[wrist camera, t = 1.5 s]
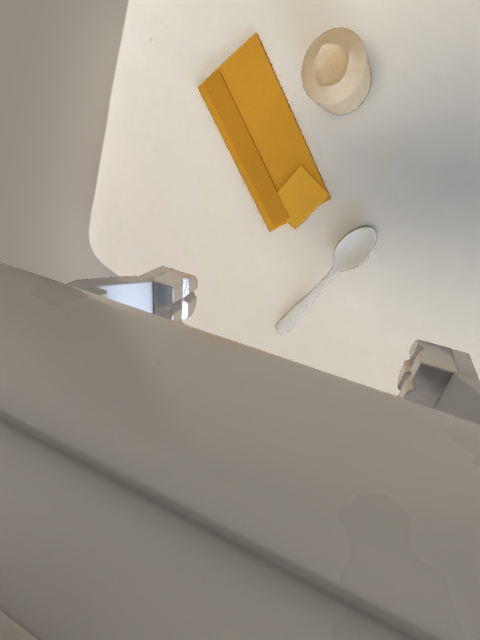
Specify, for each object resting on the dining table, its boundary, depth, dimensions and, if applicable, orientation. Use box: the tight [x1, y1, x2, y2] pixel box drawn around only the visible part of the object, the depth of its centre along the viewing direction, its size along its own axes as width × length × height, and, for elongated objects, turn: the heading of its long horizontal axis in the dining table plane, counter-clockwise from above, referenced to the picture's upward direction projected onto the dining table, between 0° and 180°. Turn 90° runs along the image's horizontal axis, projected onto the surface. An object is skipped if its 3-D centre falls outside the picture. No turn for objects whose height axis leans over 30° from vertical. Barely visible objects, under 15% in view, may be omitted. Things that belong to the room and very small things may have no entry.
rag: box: [198, 33, 331, 232], centre depth 41 cm, size 9×21×1 cm, turn 31°
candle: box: [302, 28, 371, 115], centre depth 32 cm, size 6×6×10 cm
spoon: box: [277, 227, 377, 334], centre depth 45 cm, size 4×21×2 cm, turn 147°
